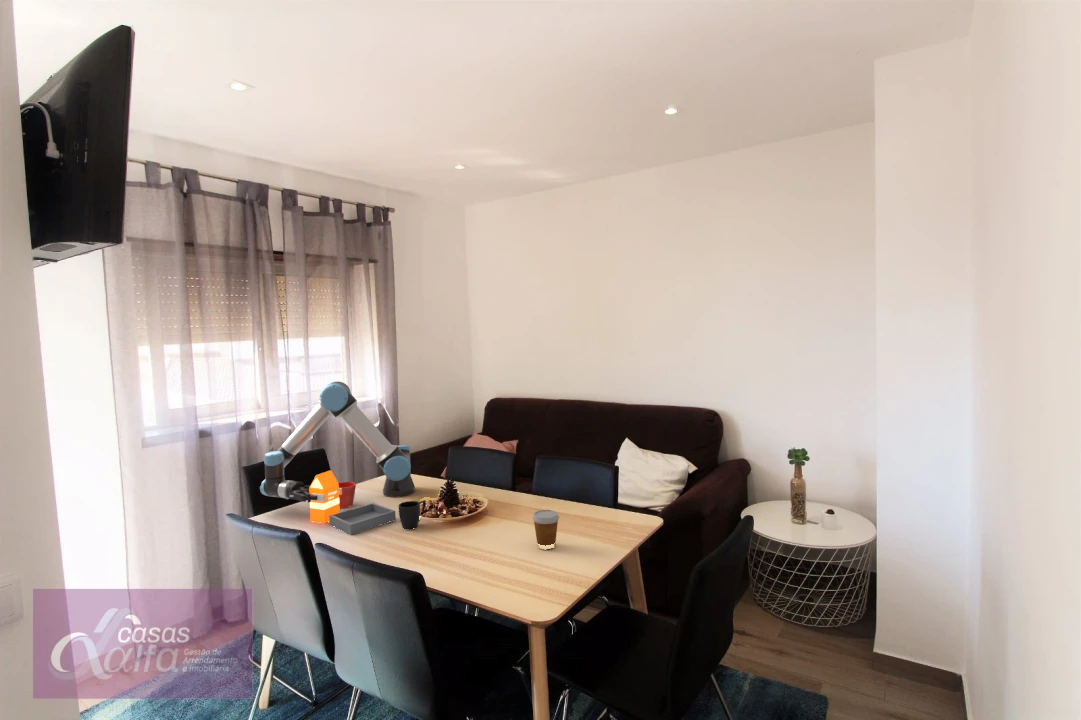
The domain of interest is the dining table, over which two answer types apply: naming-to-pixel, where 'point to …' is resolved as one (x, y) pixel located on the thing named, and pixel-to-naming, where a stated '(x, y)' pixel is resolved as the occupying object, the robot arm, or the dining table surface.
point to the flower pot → (347, 494)
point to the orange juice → (330, 489)
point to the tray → (361, 518)
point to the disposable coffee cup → (546, 526)
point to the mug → (410, 513)
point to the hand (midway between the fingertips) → (332, 494)
